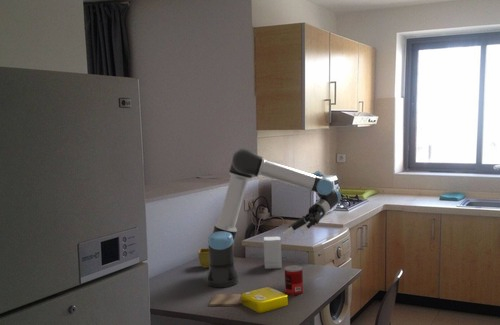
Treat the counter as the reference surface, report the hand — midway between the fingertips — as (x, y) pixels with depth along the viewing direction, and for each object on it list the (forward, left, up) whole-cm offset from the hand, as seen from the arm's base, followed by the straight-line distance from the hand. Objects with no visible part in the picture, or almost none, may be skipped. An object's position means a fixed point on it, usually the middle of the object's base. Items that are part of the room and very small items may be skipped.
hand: (293, 233), depth 222 cm
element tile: (-13, -27, -24) cm, 38 cm away
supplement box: (-11, +29, -23) cm, 39 cm away
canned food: (0, -13, -23) cm, 27 cm away
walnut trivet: (-29, -23, -23) cm, 44 cm away
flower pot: (-46, +30, -23) cm, 60 cm away
